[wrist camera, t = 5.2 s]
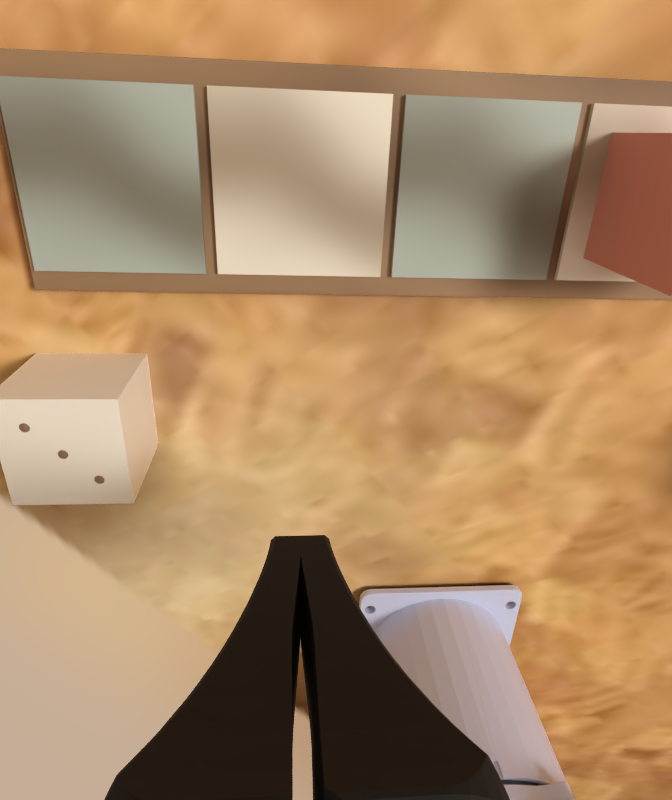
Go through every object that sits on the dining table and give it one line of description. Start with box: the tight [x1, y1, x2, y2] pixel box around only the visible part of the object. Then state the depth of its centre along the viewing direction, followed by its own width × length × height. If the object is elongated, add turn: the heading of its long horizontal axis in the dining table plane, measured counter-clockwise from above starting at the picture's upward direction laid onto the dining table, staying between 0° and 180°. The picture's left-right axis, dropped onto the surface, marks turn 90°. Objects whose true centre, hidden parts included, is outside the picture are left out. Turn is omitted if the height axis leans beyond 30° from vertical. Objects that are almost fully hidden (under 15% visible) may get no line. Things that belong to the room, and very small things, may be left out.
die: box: [0, 353, 158, 505], centre depth 20 cm, size 4×4×4 cm
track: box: [0, 48, 672, 300], centre depth 18 cm, size 7×24×1 cm, turn 88°
